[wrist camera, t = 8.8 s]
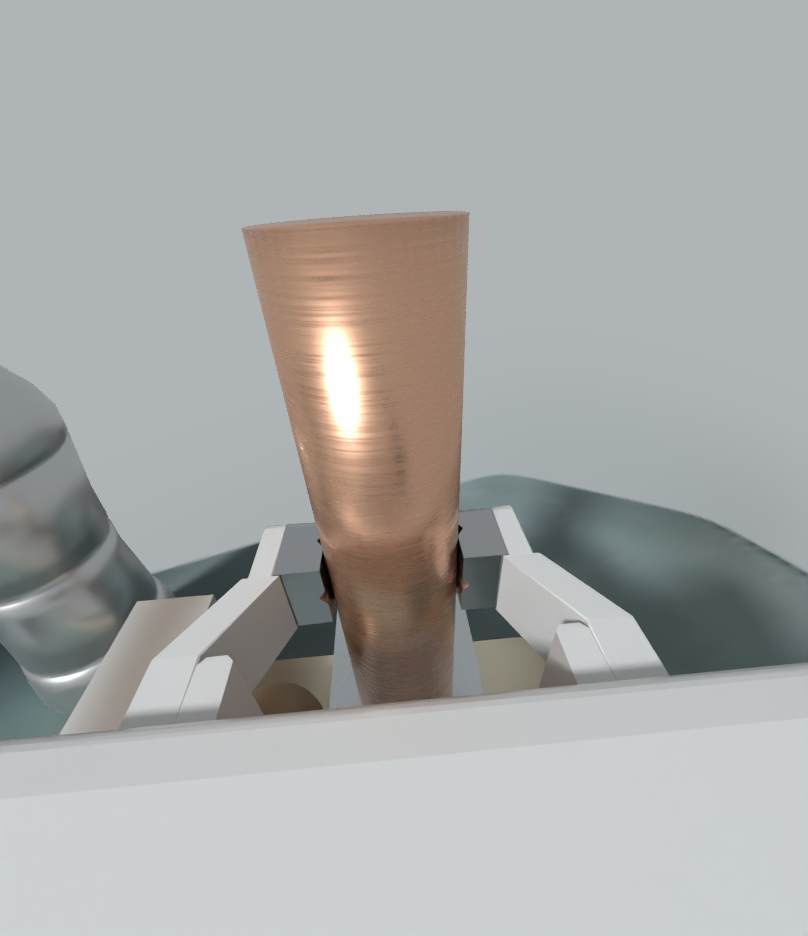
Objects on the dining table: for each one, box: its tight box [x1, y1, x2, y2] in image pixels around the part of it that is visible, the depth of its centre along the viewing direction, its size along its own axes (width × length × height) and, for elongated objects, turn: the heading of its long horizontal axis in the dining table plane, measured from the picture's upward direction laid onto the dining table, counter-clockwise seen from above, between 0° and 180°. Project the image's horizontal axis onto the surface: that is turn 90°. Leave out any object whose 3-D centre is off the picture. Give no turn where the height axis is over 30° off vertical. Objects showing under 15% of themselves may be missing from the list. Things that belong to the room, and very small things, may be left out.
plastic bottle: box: [0, 366, 176, 716], centre depth 16 cm, size 6×7×20 cm
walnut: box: [252, 682, 323, 715], centre depth 14 cm, size 4×4×4 cm
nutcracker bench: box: [59, 594, 546, 735], centre depth 15 cm, size 20×9×8 cm, turn 94°
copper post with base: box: [242, 211, 485, 709], centre depth 10 cm, size 5×7×18 cm
